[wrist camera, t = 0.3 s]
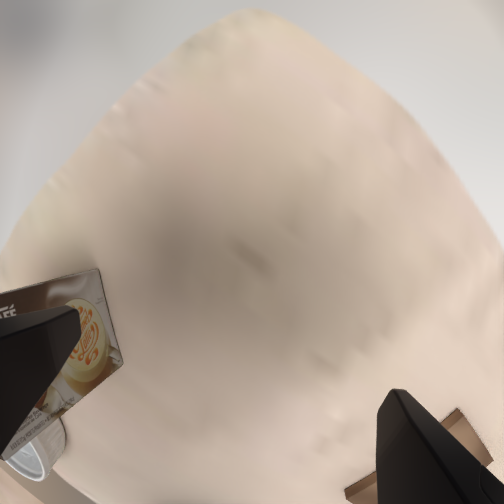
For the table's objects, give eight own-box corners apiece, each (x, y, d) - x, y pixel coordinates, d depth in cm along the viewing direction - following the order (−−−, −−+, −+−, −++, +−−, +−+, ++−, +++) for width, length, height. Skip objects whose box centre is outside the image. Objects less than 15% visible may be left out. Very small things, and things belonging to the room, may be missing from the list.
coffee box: (52, 279, 25) (-86, 310, 9) (100, 268, 24) (-60, 302, 8) (77, 368, 25) (-37, 441, 9) (127, 367, 25) (6, 466, 9)
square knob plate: (395, 520, 23) (407, 564, 15) (344, 489, 23) (352, 544, 15) (488, 453, 21) (516, 490, 13) (457, 408, 21) (494, 452, 13)
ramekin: (89, 435, 26) (57, 467, 19) (57, 465, 28) (31, 490, 21) (17, 349, 27) (-23, 366, 20) (-3, 395, 28) (-33, 413, 21)
